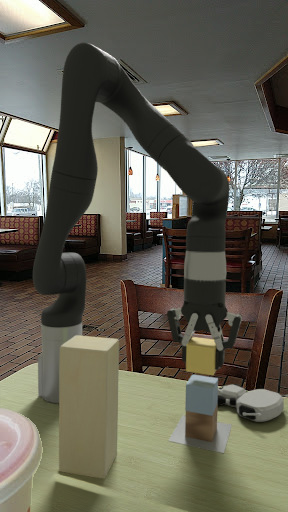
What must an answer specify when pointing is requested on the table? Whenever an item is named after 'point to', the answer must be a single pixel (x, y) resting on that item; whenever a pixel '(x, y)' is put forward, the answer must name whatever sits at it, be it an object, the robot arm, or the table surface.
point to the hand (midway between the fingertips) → (202, 365)
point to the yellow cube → (201, 356)
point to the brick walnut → (201, 425)
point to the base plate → (215, 445)
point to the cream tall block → (88, 405)
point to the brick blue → (201, 394)
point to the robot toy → (252, 402)
